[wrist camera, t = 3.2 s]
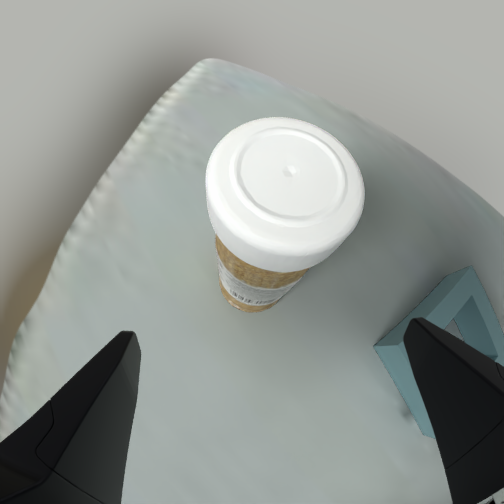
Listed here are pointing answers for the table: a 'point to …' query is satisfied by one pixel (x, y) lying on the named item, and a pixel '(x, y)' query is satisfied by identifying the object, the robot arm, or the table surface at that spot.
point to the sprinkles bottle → (278, 206)
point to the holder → (441, 313)
